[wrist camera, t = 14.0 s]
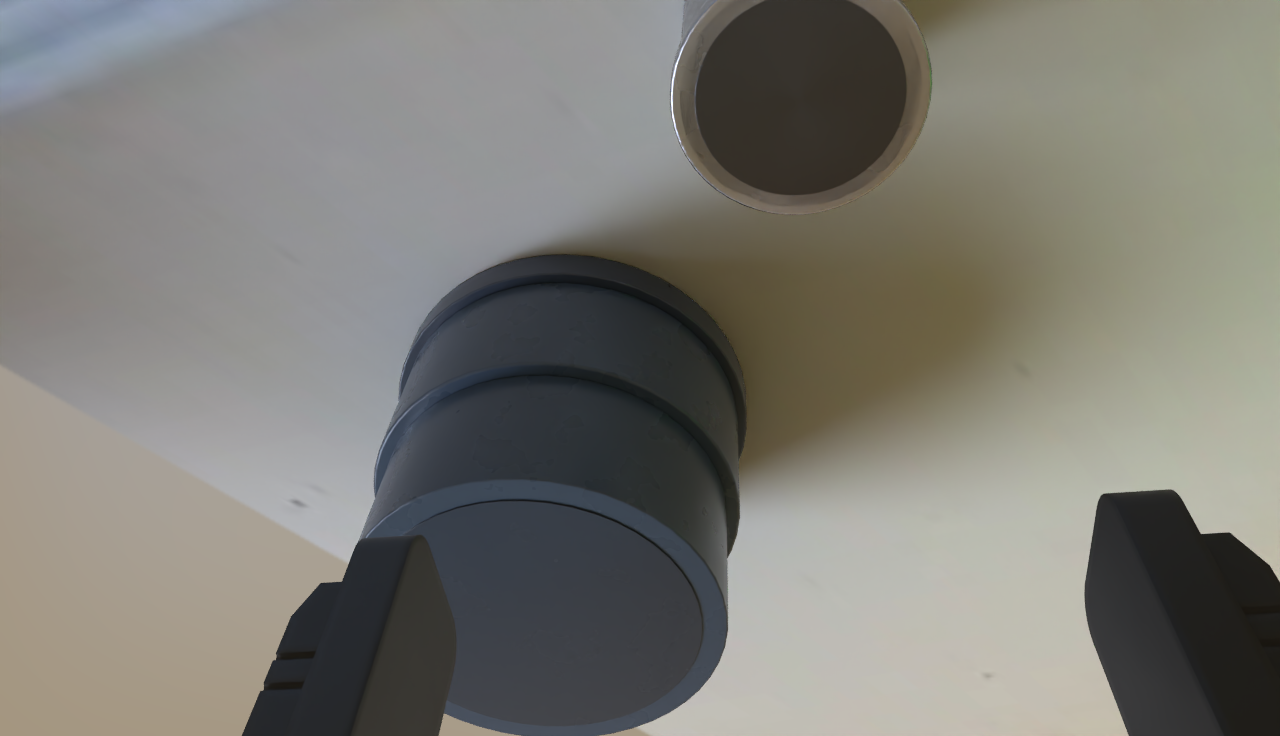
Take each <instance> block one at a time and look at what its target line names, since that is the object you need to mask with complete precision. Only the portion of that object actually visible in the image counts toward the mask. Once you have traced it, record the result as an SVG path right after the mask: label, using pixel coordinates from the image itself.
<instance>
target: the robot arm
mask: <svg viewBox="0 0 1280 736" xmlns="http://www.w3.org/2000/svg"><path fill="white" fill-rule="evenodd" d="M1085 609H1086V616H1087V622H1088V626H1089V630H1090V634H1091V637H1092V640H1093V643H1094V646H1095V648H1096V651H1097V653H1098V656H1099V659H1100V661H1101V664H1102V666H1103V669H1104V672H1105V674H1106V677H1107V680H1108V682H1109V685H1110V687H1111V690H1112V693H1113V695H1114V698H1115V700H1116V703H1117V706H1118V708H1119V711H1120V714H1121V716H1122V719H1123V721H1124V724H1125V727H1126V729H1127V732H1128V734H1129V736H1280V582H1279V580H1278V579H1277V577H1276V575H1275V574H1274V572H1273V570H1272V569H1271V567H1270V565H1268V564H1267V563H1266V562H1265V561H1264V560H1262V559H1261V558H1260V557H1259V556H1257V555H1256V554H1255V553H1254V552H1253V551H1251V550H1250V549H1249V548H1248V547H1246V546H1245V545H1244V544H1243V543H1242V542H1240V541H1239V540H1238V539H1237V538H1235V537H1234V536H1233V535H1232V534H1231V533H1212V534H1200V532H1199V530H1198V528H1197V526H1196V524H1195V523H1194V521H1193V519H1192V517H1191V515H1190V513H1189V512H1188V510H1187V508H1186V506H1185V504H1184V502H1183V501H1182V499H1181V498H1180V496H1179V495H1178V494H1177V493H1176V492H1175V491H1174V490H1154V491H1139V492H1123V493H1107V494H1103V495H1102V496H1101V497H1100V499H1099V501H1098V505H1097V510H1096V517H1095V523H1094V530H1093V536H1092V543H1091V549H1090V555H1089V562H1088V568H1087V575H1086V581H1085ZM456 647H457V642H456V628H455V622H454V618H453V614H452V611H451V608H450V605H449V602H448V599H447V597H446V594H445V591H444V588H443V585H442V582H441V579H440V576H439V573H438V570H437V567H436V564H435V561H434V558H433V555H432V552H431V549H430V547H429V544H428V542H427V540H426V538H425V537H424V536H422V535H407V536H391V537H375V538H363V539H361V540H360V541H359V542H358V543H357V545H356V547H355V549H354V551H353V554H352V557H351V559H350V562H349V565H348V568H347V570H346V573H345V575H344V578H343V581H342V582H332V583H321V584H320V585H319V586H318V587H317V588H316V589H315V590H314V591H313V593H312V594H311V595H310V596H309V597H308V598H307V599H306V600H305V602H304V603H303V604H302V605H301V606H300V607H299V608H298V609H297V610H296V612H295V613H294V614H293V615H292V616H291V618H290V621H289V623H288V626H287V628H286V630H285V633H284V636H283V638H282V640H281V642H280V645H279V648H278V650H277V652H276V655H277V658H276V660H274V661H273V662H272V664H271V667H270V669H269V671H268V674H267V676H266V679H265V681H264V690H263V691H260V693H259V696H258V698H257V700H256V703H255V705H254V708H253V710H252V713H251V715H250V717H249V720H248V722H247V725H246V727H245V729H244V732H243V734H242V736H438V735H439V731H440V727H441V723H442V718H443V714H444V710H445V706H446V701H447V697H448V693H449V689H450V685H451V680H452V676H453V672H454V667H455V661H456Z"/></svg>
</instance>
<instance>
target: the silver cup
mask: <svg viewBox="0 0 1280 736" xmlns="http://www.w3.org/2000/svg"><path fill="white" fill-rule="evenodd" d="M931 91H932V71H931V63H930V58H929V53H928V49H927V46H926V43H925V40H924V37H923V35H922V33H921V31H920V29H919V27H918V25H917V23H916V21H915V19H914V17H913V15H912V13H911V12H910V11H909V9H908V8H907V6H906V5H905V4H904V2H903V1H902V0H685V3H684V15H683V27H682V39H681V42H680V45H679V48H678V50H677V53H676V56H675V60H674V65H673V70H672V76H671V88H670V107H671V116H672V121H673V126H674V130H675V133H676V135H677V138H678V141H679V144H680V146H681V148H682V150H683V152H684V154H685V156H686V157H687V159H688V160H689V162H690V163H691V164H692V166H693V167H694V169H695V170H696V171H697V172H698V173H699V174H700V175H701V177H702V178H703V179H704V180H705V181H706V182H708V183H709V184H710V185H711V186H712V187H713V188H715V189H716V190H717V191H719V192H720V193H722V194H723V195H725V196H726V197H728V198H729V199H731V200H734V201H736V202H738V203H740V204H742V205H744V206H747V207H750V208H753V209H756V210H759V211H764V212H769V213H775V214H787V215H796V214H810V213H816V212H822V211H826V210H830V209H833V208H837V207H839V206H842V205H845V204H847V203H850V202H852V201H854V200H856V199H858V198H859V197H861V196H863V195H865V194H867V193H868V192H870V191H871V190H873V189H874V188H875V187H877V186H878V185H880V184H881V183H882V182H883V181H884V180H885V179H887V178H888V177H889V176H890V175H891V174H892V173H893V172H894V171H895V170H896V169H897V168H898V167H899V165H900V164H901V163H902V162H903V161H904V160H905V158H906V157H907V155H908V154H909V152H910V151H911V150H912V148H913V147H914V145H915V143H916V141H917V139H918V137H919V135H920V133H921V131H922V128H923V126H924V123H925V120H926V118H927V114H928V110H929V105H930V101H931Z"/></svg>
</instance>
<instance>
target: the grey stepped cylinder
mask: <svg viewBox="0 0 1280 736" xmlns="http://www.w3.org/2000/svg"><path fill="white" fill-rule="evenodd" d="M745 435H746V391H745V386H744V380H743V375H742V371H741V368H740V365H739V363H738V360H737V357H736V354H735V353H734V351H733V349H732V347H731V345H730V343H729V341H728V339H727V338H726V336H725V335H724V334H723V332H722V331H721V329H720V328H719V327H718V325H717V324H716V323H715V321H714V320H713V319H712V318H711V317H710V316H709V315H708V314H707V313H706V312H705V311H704V310H703V309H702V308H701V307H700V306H699V305H698V304H697V303H696V302H694V301H693V300H692V299H690V298H689V297H688V296H687V295H685V294H684V293H683V292H682V291H680V290H679V289H677V288H675V287H674V286H672V285H670V284H669V283H667V282H665V281H664V280H662V279H660V278H658V277H656V276H654V275H651V274H649V273H647V272H645V271H643V270H640V269H638V268H635V267H631V266H628V265H625V264H622V263H619V262H616V261H611V260H605V259H600V258H595V257H588V256H576V255H547V256H538V257H531V258H525V259H519V260H516V261H512V262H508V263H505V264H501V265H498V266H496V267H493V268H491V269H488V270H486V271H484V272H481V273H479V274H477V275H475V276H473V277H472V278H470V279H468V280H467V281H465V282H463V283H462V284H460V285H458V286H457V287H456V288H455V289H454V290H452V291H451V292H450V293H449V294H447V295H446V296H445V297H444V298H443V299H442V300H441V301H440V302H439V303H438V304H437V305H436V306H435V307H434V308H433V309H432V311H431V312H430V313H429V314H428V316H427V317H426V319H425V320H424V322H423V324H422V325H421V327H420V328H419V330H418V332H417V335H416V337H415V339H414V342H413V344H412V346H411V349H410V351H409V353H408V356H407V358H406V361H405V363H404V367H403V371H402V375H401V379H400V386H399V402H398V405H397V407H396V410H395V412H394V415H393V417H392V420H391V422H390V425H389V427H388V430H387V432H386V435H385V437H384V440H383V442H382V445H381V447H380V450H379V453H378V457H377V461H376V465H375V472H374V493H375V500H374V503H373V505H372V508H371V510H370V513H369V515H368V518H367V521H366V523H365V526H364V528H363V531H362V534H361V536H360V539H359V541H360V540H361V539H363V538H375V537H391V536H407V535H422V536H424V537H425V538H426V540H427V542H428V544H429V547H430V549H431V552H432V555H433V558H434V561H435V564H436V567H437V570H438V573H439V576H440V579H441V582H442V585H443V588H444V591H445V594H446V597H447V599H448V602H449V605H450V608H451V611H452V614H453V618H454V622H455V628H456V642H457V647H456V661H455V667H454V672H453V676H452V680H451V685H450V689H449V693H448V697H447V701H446V706H445V710H444V713H445V714H447V715H450V716H452V717H454V718H457V719H459V720H462V721H464V722H468V723H470V724H473V725H476V726H479V727H483V728H487V729H491V730H495V731H499V732H503V733H509V734H515V735H521V736H599V735H605V734H611V733H616V732H619V731H624V730H627V729H631V728H635V727H637V726H640V725H643V724H646V723H648V722H651V721H653V720H655V719H657V718H659V717H661V716H663V715H665V714H667V713H669V712H671V711H673V710H674V709H676V708H677V707H679V706H680V705H682V704H683V703H685V702H686V701H687V700H688V699H689V698H691V697H692V696H693V695H694V694H695V693H696V692H698V691H699V690H700V688H701V687H702V686H703V685H704V684H705V683H706V681H707V680H708V679H709V678H710V677H711V675H712V673H713V672H714V670H715V668H716V667H717V665H718V663H719V661H720V659H721V656H722V653H723V651H724V648H725V645H726V638H727V632H728V580H727V558H728V556H729V554H730V553H731V551H732V548H733V545H734V542H735V539H736V536H737V532H738V526H739V519H740V500H739V459H740V456H741V453H742V450H743V447H744V441H745ZM359 541H358V542H359Z"/></svg>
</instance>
